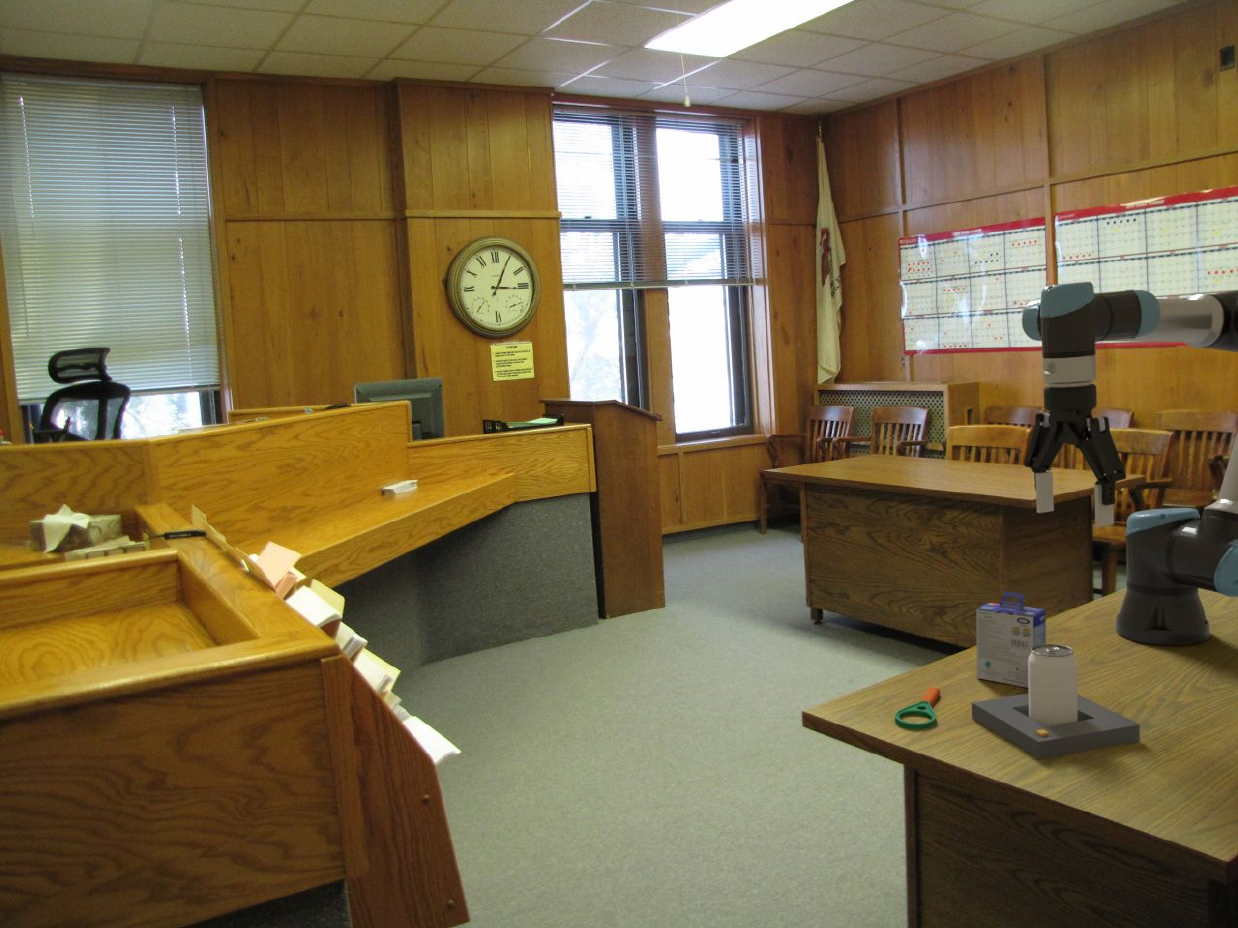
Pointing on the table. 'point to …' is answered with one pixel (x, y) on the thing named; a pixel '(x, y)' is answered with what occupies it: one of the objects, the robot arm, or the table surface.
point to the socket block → (1055, 727)
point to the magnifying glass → (920, 711)
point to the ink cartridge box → (1007, 639)
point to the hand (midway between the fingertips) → (1073, 518)
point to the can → (1052, 685)
